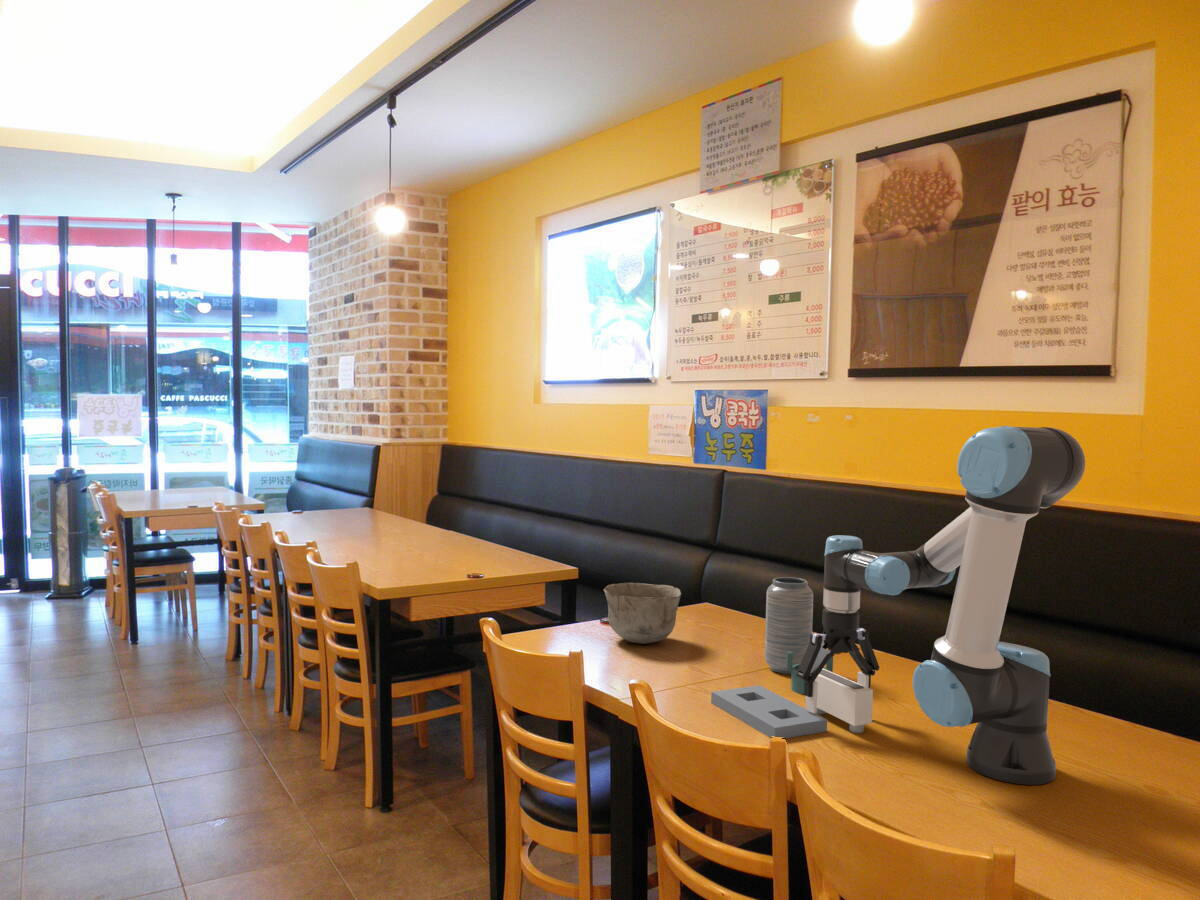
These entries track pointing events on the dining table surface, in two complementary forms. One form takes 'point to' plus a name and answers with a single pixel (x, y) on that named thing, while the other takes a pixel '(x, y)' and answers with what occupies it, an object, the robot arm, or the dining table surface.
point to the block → (844, 700)
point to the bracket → (797, 682)
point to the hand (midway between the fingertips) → (836, 707)
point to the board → (769, 712)
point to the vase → (787, 621)
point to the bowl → (642, 610)
